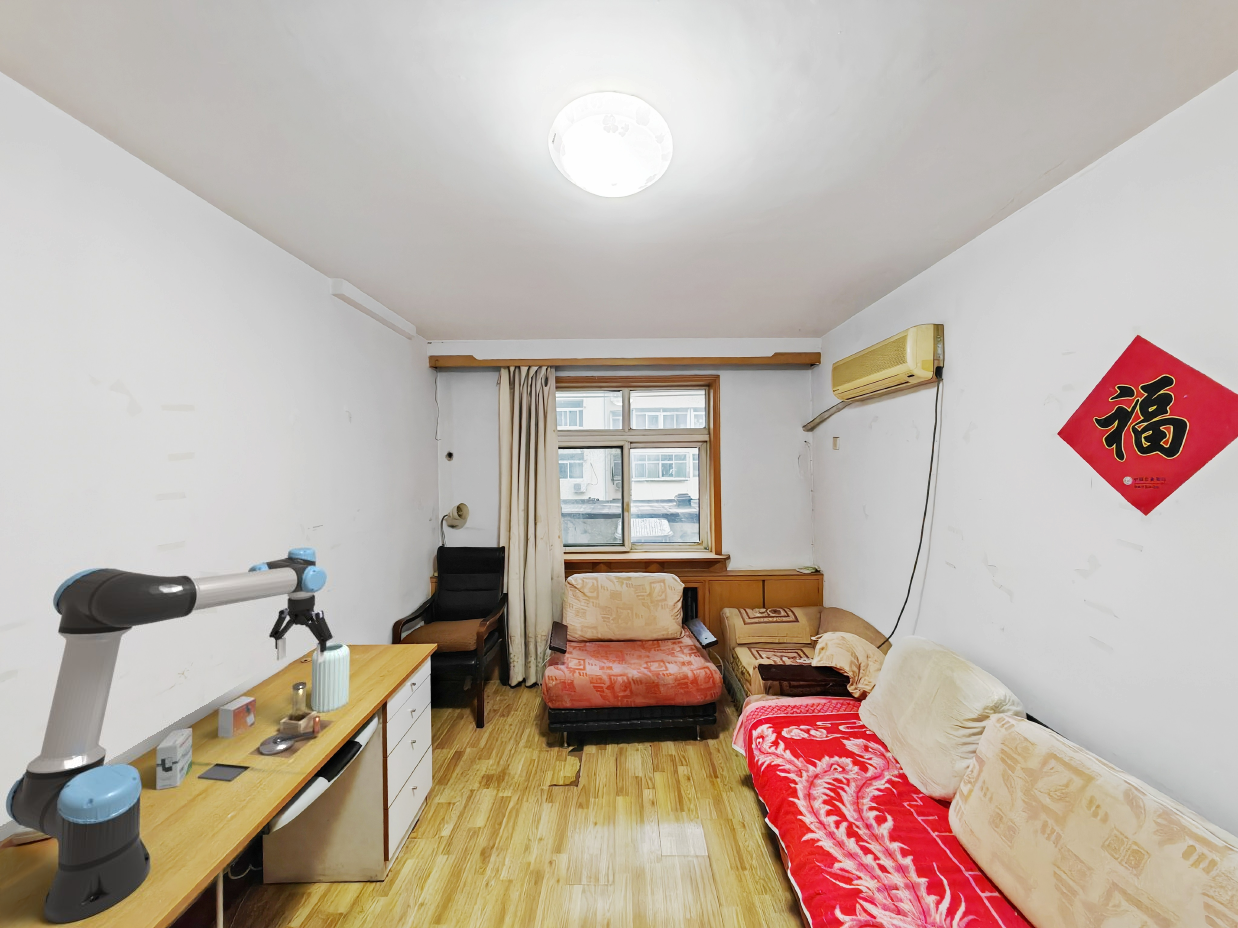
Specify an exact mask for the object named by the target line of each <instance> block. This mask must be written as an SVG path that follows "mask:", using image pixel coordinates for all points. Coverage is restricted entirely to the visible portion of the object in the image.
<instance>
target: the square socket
mask: <svg viewBox="0 0 1238 928" xmlns="http://www.w3.org/2000/svg"><path fill="white" fill-rule="evenodd" d="M315 716H318V712H317V711H314V710H305V718H304V719H303V720H302V721H292V712H291V713H290V714H289V715H287V716H286V717H285V718H283V719H281V720H280V721H279V732H282V733H293V734H300V733H303V732H304V731H306V730H307V729H308V728H309V727H311V726H312V725H313V717H315Z"/></svg>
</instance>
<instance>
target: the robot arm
mask: <svg viewBox="0 0 1238 928" xmlns="http://www.w3.org/2000/svg"><path fill="white" fill-rule="evenodd" d="M316 557H317V555H316V550H315V549H314V548H312V547H297V548H295V547H294V548H291V549H289V550H288V553H287V557H285V558H279V559H275V560H271V561H270V560H269V561H266V562H261V563H259V564H254V565H252V566H251V567H249V569H248V571H246V572H239V573H238V572H237V573H229V574H221V575H215V576H214V575H212V576H206V577H196V578H193V577H191V576H189V575H178V576H175V575H174V576H167V575H166V576H165V575H164V576H163V575H162V576H161V575H154V574H147V573H141V572H140V573H138V572H132V571H126V570H122V569H121V570H120V569H117V568H110V567H109V568H108V567H105V568H104V567H101V568H100V567H95V568H89V569H85V570H82V571H80V572H77V573H75V574H73V575H72V576H70V577H69V578H67V579H65V580H64V581H63V582H62V583H61V584H60V585H59V586H58V587H57V589H56V591H55V593H54V595H53V599H52V603H53V604H52V605H53V608H54V610H55V611H56V612H57V613H58V615H61V617H60V621H59V626H58V630H57V633H58V635H60V636H61V637H62V638H63V639H65V645H64V650H63V652H62V653H63V654H62V658H61V663H60V667H59V671H58V676H57V680H56V683H55V684H56V685H55V689H54V694H53V698H52V701H51V706H50V712H49V716H48V719H47V725H46V727H45V728H46V729H45V733H44V737H43V741H42V745H41V746H42V747H41V750H40V754H39V755H38V756H36V757H35V758H34V759H33V760H31V761H30V762H28V764H27V766H26V770H25V772H24V773H23V774H22V776H21V777H20V778H19V779H17V780H16V781H15V782H14V784H13V785H12V787H11V788H10V789H9V791H8V793H7V796H6V800H5V810H6V813H7V815H8V816H9V817H10V818H11V819H12V820H13V821H14V823H17V824H18V825H19V826H23V827H24V828H27V829H28V828H29V829H31V830H34V831H36V832H38V833H41V834H44V835H46V836H48V837H51V838H52V839H55V840H57V844H58V845H57V846H58V847H57V850H58V851H57V852H58V853H57V857H58V861H57V865H58V866H57V870H56V873H55V876H54V878H53V881H52V883H51V887H50V889H49V890H48V891H47V894H46V896H45V899H44V904H43V905H44V907H43V908H44V909H43V915H44V918H45V919H46V920H47V921H49V922H52V923H61V924H62V923H70V922H76V921H79V920H82V919H86V918H89V917H91V916H94V915H97V914H99V913H100V912H103V911H105V910H107V909H109V908H111V907H113V906H115V905H116V904H118V903H120V902H121V901H123V900H124V899H125V898H127V897H129V896H130V895H131V894H132V893H133V892H135V890H137V889H138V888H139V887H141V885H142V884H143V883H144V882H145V881H146V879H147V877H148V876H149V874H150V871H151V855H150V853H149V851H148V849H147V847H146V845H145V843H144V842H143V840H142V838H141V836H140V832H141V831H140V828H141V827H140V826H141V793H142V781H141V775H140V772H139V771H138V769H137V768H136V767H134V766H132V765H131V764H130V765H129V764H127V763H126V764H125V763H116V764H114V765H111V764H106V765H104V764H105V761H106V760H105V759H106V754H107V749H106V748H104V747H103V746H101V745H100V744H99V742H100V738H101V733H102V730H103V725H104V718H105V715H106V711H107V705H108V702H109V696H110V691H111V686H112V683H113V678H114V673H115V669H116V663H117V660H118V659H117V658H118V654H119V649H120V644H121V640H122V637H123V635H125V634H127V633H128V632H129V631H131V630H132V629H133V627H137V626H143V625H148V624H154V623H158V622H159V623H160V622H164V621H170V620H174V619H181V618H186V617H188V616H189V615H191V614H192V613H193V611H198V610H205V609H210V608H215V607H216V608H217V607H222V606H227V605H232V604H238V603H244V602H249V601H255V600H259V599H266V598H271V597H278V596H283V595H286V596H287V597H288V598H287V607H285V608H283V609H280V610H279V611H278V617H277V618H276V621H275V623H274V625H273V627H272V629H271V631H270V633H269V635H268V637H269V638H272V639H274V642H275V644H274V646H275V650H276V661H280V660H282V659H285V658H286V650H287V649H286V644H287V643H286V640H287V639H286V636H285V635H286V634H287V633H288V631H290V629H291V628H292V627H294V625H295V626H298V625H299V626H305V627H306V628H308V630H309V631H310V632H311V634H312V635H313V637H315V639H316V640H317V643H316V644H315V645H316V647H315V648H316V650H315V651H316V663H320V662H322V661H323V660H324V652H325V651H326V644H327V642H329V641H330V640H332V639H333V638H334V635H332V632H331V630H330V627H329V625H328V622H327V621H326V618H325V614H324V613H325V612H324V610H319V611H315V610H314V609H315V605H316V595H315V594H316V593H317V592H319V591H321V589H323V588H324V586H325V585H326V583H327V573H326V571H325V569H323V568H322V567H320V566H316V565H317V558H316ZM287 617H288V618H289V619H288V620H287V621H286V619H287ZM283 625H284V626H283Z"/></svg>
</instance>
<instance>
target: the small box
mask: <svg viewBox="0 0 1238 928" xmlns="http://www.w3.org/2000/svg"><path fill="white" fill-rule="evenodd" d="M256 703H257V699H256V698H255V697H249V696H244V695H242V696H240V697H238V698H236V699H234V700H232V701H231V702H229V703H226V704H225V705H222V706H220V707H218V730H217V731H218V733H217V734H218V735H217V738H219V737H221V738H226V739H234V738H237V736H239V735H241V734H243V733H244V732H246V731H247V730H250V729H251V728H253V727H254V726H256V710H257V709H256V707H257V706H256Z"/></svg>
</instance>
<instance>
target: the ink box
mask: <svg viewBox="0 0 1238 928" xmlns="http://www.w3.org/2000/svg"><path fill="white" fill-rule="evenodd" d="M155 753H156V757H155V758H156V766H155V767H156V771H155V772H156V775H155V777H156V778H155V779H156V781H155V782H156V786H155V787H156V790H164V789H170V788H176V787H179V785H180V784H181V783H182V782H183V781H184V779H185V777H186V776H187V775H188V773H189V772H190V770H191V769H192V767H193V728H191V727H190V728H182V729H176V730H172V731H171V732H169V734H168V735H167V736H166V737H165V738H164V739H163V740H162V741H161V742H160V744H159V745H158V746H157V747H156V752H155Z"/></svg>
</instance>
